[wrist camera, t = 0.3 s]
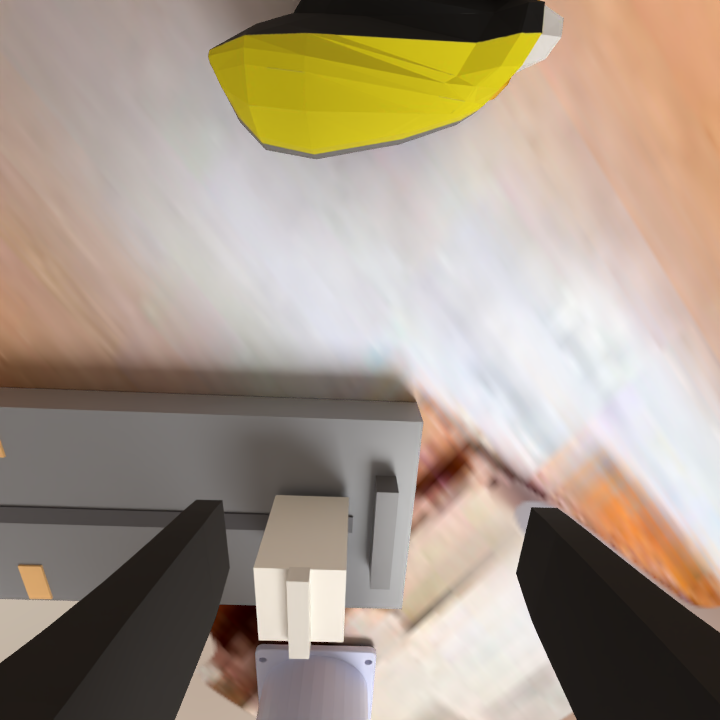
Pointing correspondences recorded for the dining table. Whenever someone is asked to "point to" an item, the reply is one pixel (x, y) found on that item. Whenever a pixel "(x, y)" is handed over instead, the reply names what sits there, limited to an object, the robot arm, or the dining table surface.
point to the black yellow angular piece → (376, 69)
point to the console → (196, 482)
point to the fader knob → (302, 572)
